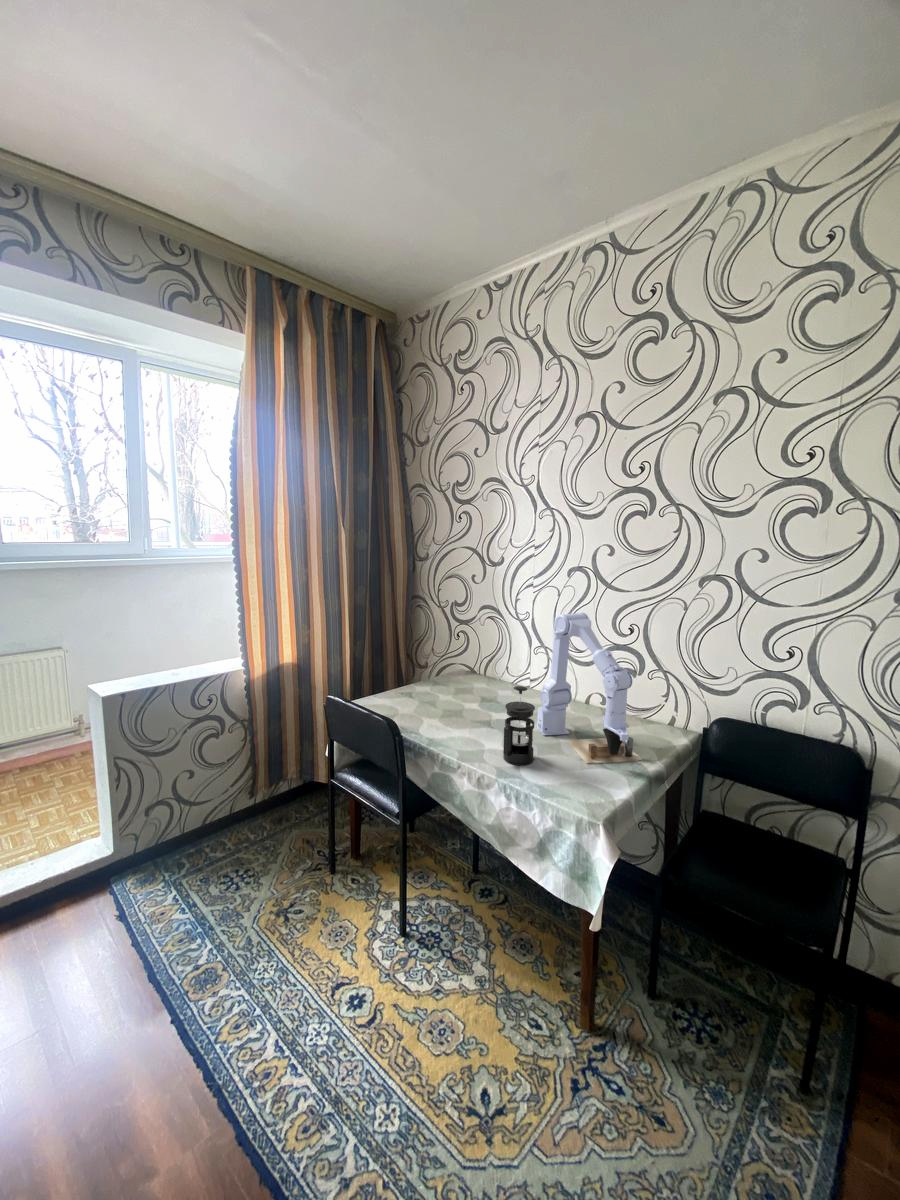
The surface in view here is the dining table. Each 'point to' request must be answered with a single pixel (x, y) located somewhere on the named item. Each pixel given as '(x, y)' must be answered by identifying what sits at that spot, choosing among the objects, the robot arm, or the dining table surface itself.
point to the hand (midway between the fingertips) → (613, 753)
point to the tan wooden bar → (602, 750)
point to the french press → (518, 740)
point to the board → (582, 750)
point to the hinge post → (628, 747)
